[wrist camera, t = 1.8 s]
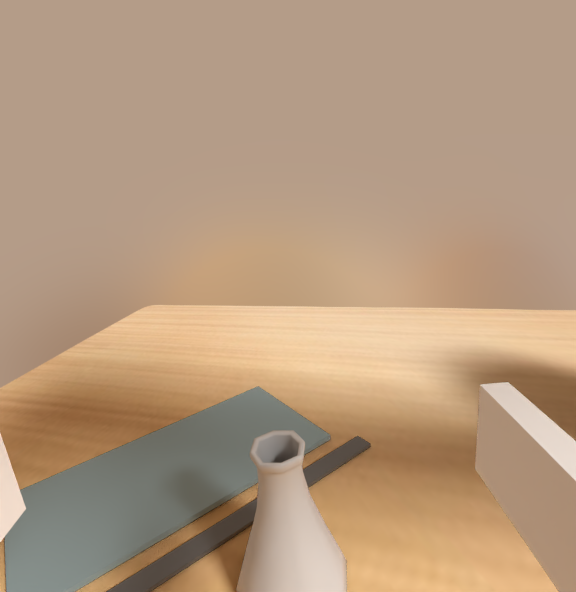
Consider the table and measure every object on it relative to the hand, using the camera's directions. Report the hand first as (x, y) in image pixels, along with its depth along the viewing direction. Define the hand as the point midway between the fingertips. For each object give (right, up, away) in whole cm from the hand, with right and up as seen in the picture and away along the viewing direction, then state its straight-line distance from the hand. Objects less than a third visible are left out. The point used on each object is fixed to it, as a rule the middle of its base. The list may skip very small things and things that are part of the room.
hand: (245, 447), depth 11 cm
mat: (-9, -12, +25) cm, 29 cm away
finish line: (-4, -13, +18) cm, 23 cm away
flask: (+2, -14, +14) cm, 20 cm away
